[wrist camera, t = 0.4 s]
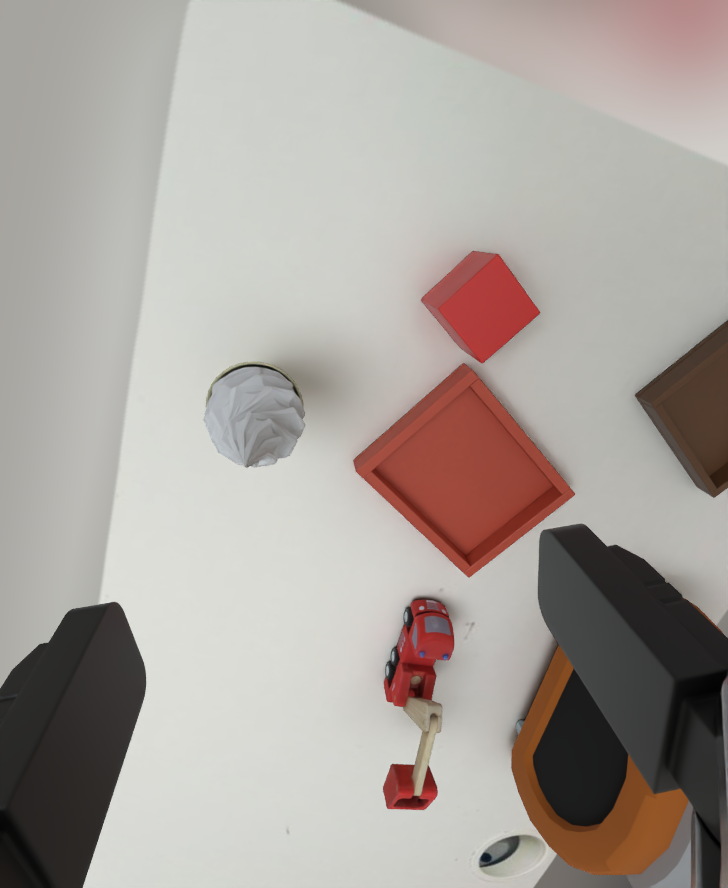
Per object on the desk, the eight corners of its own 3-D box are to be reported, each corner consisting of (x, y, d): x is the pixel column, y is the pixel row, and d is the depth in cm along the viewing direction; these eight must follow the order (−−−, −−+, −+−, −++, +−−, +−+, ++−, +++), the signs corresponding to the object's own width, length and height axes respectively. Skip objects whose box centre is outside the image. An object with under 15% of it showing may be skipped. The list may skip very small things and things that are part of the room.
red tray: (352, 460, 37) (355, 471, 36) (463, 362, 35) (472, 369, 34) (461, 564, 42) (469, 578, 41) (564, 483, 40) (576, 494, 39)
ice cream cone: (277, 418, 35) (266, 538, 22) (211, 380, 34) (154, 484, 20) (316, 358, 34) (331, 446, 20) (249, 316, 32) (217, 381, 19)
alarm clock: (578, 564, 44) (729, 743, 29) (667, 573, 46) (854, 747, 30) (498, 750, 52) (581, 965, 37) (575, 752, 54) (685, 958, 39)
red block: (420, 299, 33) (437, 309, 29) (472, 250, 32) (498, 253, 28) (460, 348, 35) (482, 364, 31) (511, 303, 34) (541, 313, 30)
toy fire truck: (446, 597, 43) (485, 691, 35) (403, 711, 48) (427, 819, 39) (410, 592, 43) (440, 687, 34) (369, 708, 48) (386, 818, 39)
